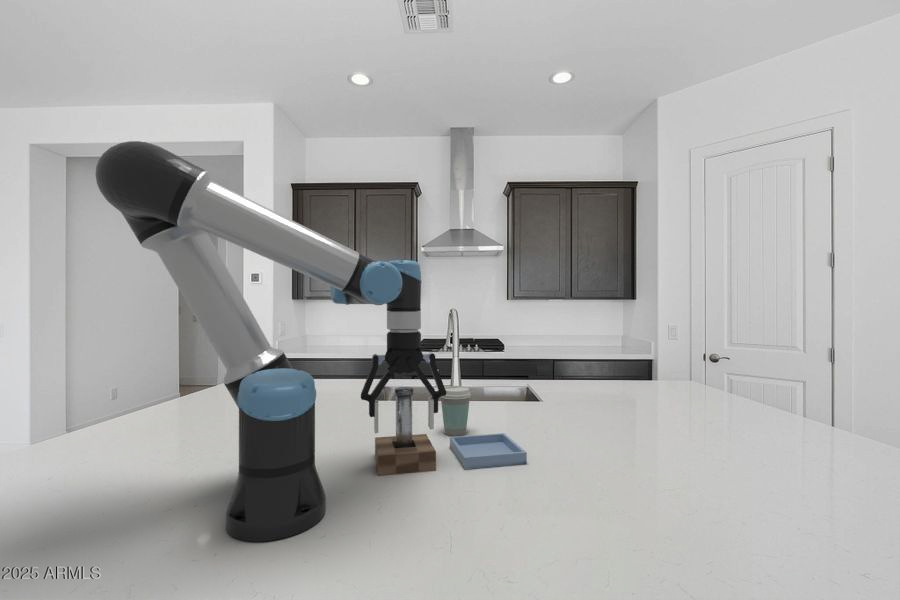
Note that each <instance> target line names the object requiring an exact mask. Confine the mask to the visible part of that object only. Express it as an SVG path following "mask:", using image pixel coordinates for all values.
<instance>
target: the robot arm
mask: <svg viewBox="0 0 900 600" xmlns="http://www.w3.org/2000/svg"><path fill="white" fill-rule="evenodd" d="M95 179H96V185H97V187H98V189H99V192H100V193H101V195H102V196H103V197H104V198H105V200H106V201H107V202H108V203H109V204H110V205H111V206H113V207H114V208H115V209H116V210H118V211H119V212H120V213H121V214H122V216H123V217H124V219H125V221H126V222H127V225H128V226H129V227H130V229H131V231H132V232H133V235H134V236H135V237H136V239H137V241H138V242H139V244H140V246H141V247H142V248H144V249H147V250H150V251H153V252H156V254H157V255H158V256H159V258H160V260H161V261H162V263H163V265H164V267H165V268H166V270H167V272H168V273H169V275H170V276H171V278H172V280H173V282H174V284H175V285H176V286H177V288H178V290H179V292H180V293H181V295H182V297H183V299H184V301H185V302H186V304H187V306H188V307H189V308H190V311H191V312H192V314H193V315H194V317H195V319H196V320H197V322H198V324H199V326H200V327H201V330H202V331H203V332H204V334H205V335H206V337H207V339H208V341H209V342H210V344H211V347H212V348H213V350H214V351H215V353H216V354H217V356H218V358H219V359H220V361H221V362H222V364H223V366H224V368H225V370H226V372H225V375H224V378H223V380H222V383H223V385H224V386H225V388H226V389H227V391H228V393H229V394H230V396H231V398H232V399H233V401H234V403H235V404H236V406H237V408H238V477H237V479H236V482H235V485H234V488H233V491H232V494H231V497H230V500H229V502H228V506H227V509H226V514H225V529H226V532H227V533H228V535H230V536H231V537H233V538H235V539H238V540H242V541H248V542H267V541H274V540H280V539H284V538H288V537H291V536H294V535H297V534H300V533H302V532H303V531H306V530H308V529H310V528H312V527H314V526H315V525H316V524H317V523H318V522H320V520H321V519H322V518H323V517H324V516H325V514H326V511H327V510H326V509H327V507H326V503H327V499H326V492H325V490H324V487H323V484H322V481H321V478H320V476H319V472H318V469H317V467H316V398H317V388H316V386H315V379H314V377H313V376H312V374H310V373H309V372H307V371H304V370H298V369H296V368H293V366H292V364H291V363H290V361H289V360H288V357H287V355H286V354H285V352H284V350H282V349H279V348H275V347H272V346H271V344H270V343H269V341H268V338H267V337H266V335H265V333H264V331H263V330H262V328H261V326H260V324H259V323H258V321H257V319H256V318H255V316H254V313H253V311H252V310H251V309H250V306H249V305H248V303H247V301H246V300H245V298H244V296H243V294H242V292H241V290H240V289H239V288H238V285H237V283H236V282H235V280H234V278H233V276H232V275H231V273H230V271H229V270H228V267H227V266H226V264H225V262H224V260H223V259H222V257H221V255H220V253H219V251H218V249H217V248H216V247H215V244H214V242H213V241H212V240H211V237H210V235H209V234H211V235H213V236H215V237H218V238H220V239H222V240H225V241H228V242H230V243H231V244H234V245H235V246H238V247H240V248H243V249H245V250H248V251H250V252H252V253H255V254H257V255H259V256H261V257H264V258H266V259H268V260H271V261H273V262H275V263H277V264H280V265H282V266H285V267H287V268H289V269H291V270H294V271H296V272H298V273H300V274H302V275H305V276H307V277H310V278H312V279H314V280H316V281H318V282H320V283H323V284H325V285H328V286H329V292H330V293H329V294H330V298H331V301H332V303H334V304H336V305H348V306H350V305H374V306H382V305H386V329H387V330H389V331H388V332H387V333H386V352H385V353H384V354H377V353H374V354H373V355H372V357H371V358H372V361H371V366H370V369H369V371H368V374H367V376H366V379H365V382H364V384H363V387H362V390H361V392H360V399H361V400H362V401H367V402H368V403H369V404H368V415H369V417H370V418H373V421H374V423H373V426H374V427H373V428H374V429H373V430H374V434H379V400H378V399H377V398H378V397H379V395H380V394H381V392H382V391H383V389H384V388H385V387H386V385H387V384H388V382H389V381H390V379H391V378H392V377H393V376H394V374H398V375H400V374H412V373H415V375H416V376H417V377H418V379H419V380H420V381H421V383H422V384H423V385H424V387H425V389H427V391H428V393H429V394H430V395H431V397H427V399H428V401H427V403H428V404H427V405H428V406H427V408H428V409H427V411H428V412H427V414H428V415H427V416H428V417H427V419H428V422H427V425H428V428H429V430H434V429H435V426H434V424H435V423H434V422H435V420H434V419H435V417H434V416H435V415H434V414H437V413H439V399H441V396H445V395H446V390H445V387H446V386H445V385H444V383H443V379H442V377H441V374H440V372H439V370H438V367H437V364H436V355H435V353H433V352H428V353H423V352H422V333H421V332H420V331H419V330H420V329H422V322H421V321H422V313H421V312H422V308H421V304H422V296H421V295H422V274H421V273H422V272H421V271H422V270H421V265H420V263H419V262H417V261H415V260H408V259H407V260H404V259H402V260H399V259H397V260H389V261H381V260H374V259H373V258H370V257H368V256H366V255H364V254H361V253H359V252H358V251H356V250H353V249H352V248H350V247H347V246H346V245H343V244H341V243H340V242H337V241H335V240H333V239H331V238H329V237H327V236H326V235H323V234H321V233H319V232H317V231H315V230H314V229H311V228H309V227H307V226H305V225H303V224H300V223H299V222H296V221H295V220H293V219H290V218H289V217H286V216H284V215H282V214H280V213H278V212H276V211H274V210H272V209H270V208H268V207H266V206H264V205H262V204H260V203H258V202H256V201H255V200H252V199H250V198H248V197H246V196H244V195H241V194H240V193H238V192H236V191H233V190H232V189H230V188H227V187H225V186H224V185H221V184H219V183H217V182H215V181H214V180H213V178H212V176H211V174H210V173H209V171H207V170H205V169H203V168H202V167H200V166H198V165H195V164H194V163H192V162H189V161H188V160H186V159H184V158H183V157H181V156H179V155H177V154H175V153H174V152H171V151H169V150H167V149H165V148H163V147H161V146H159V145H156V144H154V143H149V142H147V141H140V140H138V141H137V140H136V141H135V140H133V141H132V140H130V141H125V142H120V143H117V144H115V145H113V146H110V147H109V148H108V149H107V150H106V151H104V152H103V153H102V155H101V156H100V158H99V159H98V161H97V164H96V166H95ZM423 360H425V363H426V364H428V367H429V368H430V371H431V374H432V377H433V379H434V381H435V386H436V387H437V390H436V389H435V388H434V386H432V384H431V383H430V381H429V379H428V378H427V377H426V376H425V374H424V373H423V371H422V370H421V369H420V367H419V366H420V364H421V362H422V361H423ZM383 361H385V362H386V363H387V365H388V367H387V369H386V370H385V373H384V374H383V375H382V376H381V378H380V380H379V382H378V383H377V385H376V386H375V387H374V389H373V390H372V392H371V393H369V392H370V390H371V387H372V385H373V381H374V379H375V376H376V374H377V371H378V369H379V366H381V365H382V363H383Z"/></svg>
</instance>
